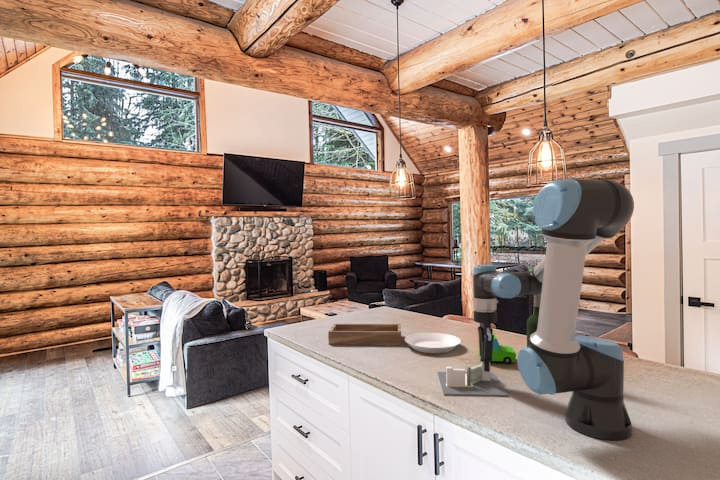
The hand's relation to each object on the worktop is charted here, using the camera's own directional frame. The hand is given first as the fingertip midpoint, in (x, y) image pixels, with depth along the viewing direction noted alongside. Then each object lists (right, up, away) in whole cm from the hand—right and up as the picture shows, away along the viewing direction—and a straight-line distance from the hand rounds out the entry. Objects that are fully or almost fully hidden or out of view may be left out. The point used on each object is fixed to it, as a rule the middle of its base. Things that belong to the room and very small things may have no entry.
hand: (486, 379), depth 135 cm
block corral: (-40, -1, +59) cm, 71 cm away
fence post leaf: (-10, -2, -2) cm, 10 cm away
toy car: (+12, -1, +25) cm, 27 cm away
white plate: (-10, -1, +45) cm, 46 cm away
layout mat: (-5, -2, +1) cm, 5 cm away
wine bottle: (+22, -1, +9) cm, 23 cm away
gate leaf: (-2, -1, +2) cm, 3 cm away
